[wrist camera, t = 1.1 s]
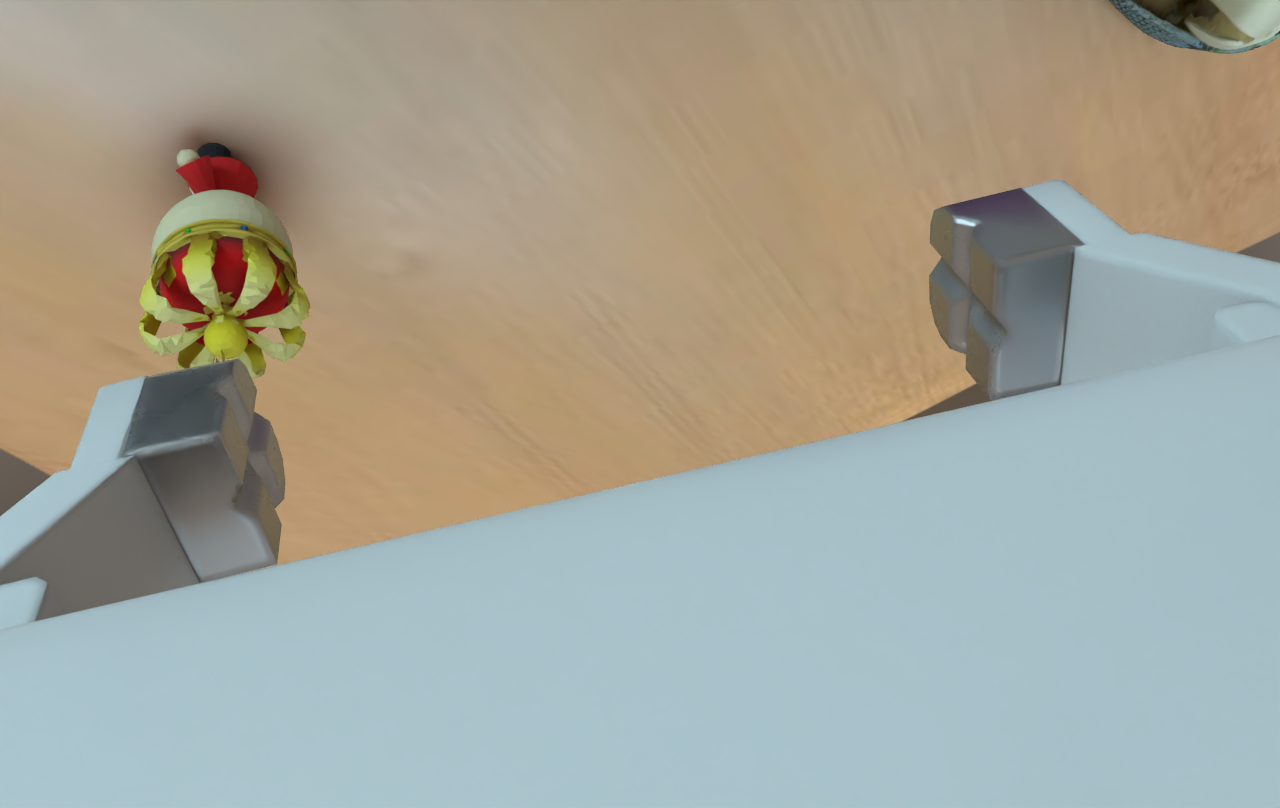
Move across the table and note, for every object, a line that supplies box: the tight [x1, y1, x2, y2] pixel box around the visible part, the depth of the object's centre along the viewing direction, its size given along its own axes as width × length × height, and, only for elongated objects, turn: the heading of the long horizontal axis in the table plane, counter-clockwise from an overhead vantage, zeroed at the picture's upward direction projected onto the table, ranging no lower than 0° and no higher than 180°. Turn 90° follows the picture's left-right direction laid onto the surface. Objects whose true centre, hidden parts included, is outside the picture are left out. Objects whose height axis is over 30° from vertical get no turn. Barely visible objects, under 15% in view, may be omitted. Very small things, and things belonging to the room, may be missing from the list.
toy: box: [139, 143, 310, 379], centre depth 53 cm, size 7×7×15 cm
